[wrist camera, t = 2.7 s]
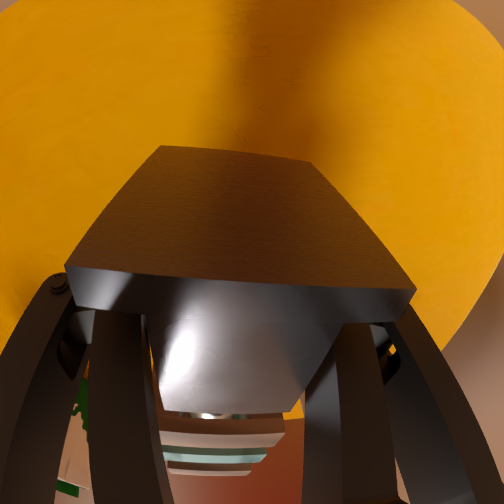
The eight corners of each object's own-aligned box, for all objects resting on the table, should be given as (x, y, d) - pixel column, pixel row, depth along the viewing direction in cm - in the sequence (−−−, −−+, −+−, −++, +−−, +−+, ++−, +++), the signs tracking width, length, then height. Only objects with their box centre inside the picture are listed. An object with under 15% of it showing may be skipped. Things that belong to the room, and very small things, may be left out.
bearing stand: (249, 382, 36) (260, 479, 24) (162, 377, 34) (155, 476, 22) (293, 230, 23) (356, 393, 11) (145, 217, 21) (80, 383, 9)
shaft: (236, 421, 29) (241, 489, 21) (176, 419, 28) (175, 487, 20) (310, 162, 13) (416, 289, 5) (160, 145, 12) (64, 265, 4)
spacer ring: (250, 385, 25) (259, 462, 18) (166, 381, 23) (161, 459, 17) (256, 370, 23) (266, 454, 16) (164, 365, 22) (156, 451, 15)
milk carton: (77, 396, 38) (60, 491, 22) (43, 368, 33) (16, 471, 17) (110, 395, 37) (95, 503, 21) (73, 365, 32) (46, 486, 16)
